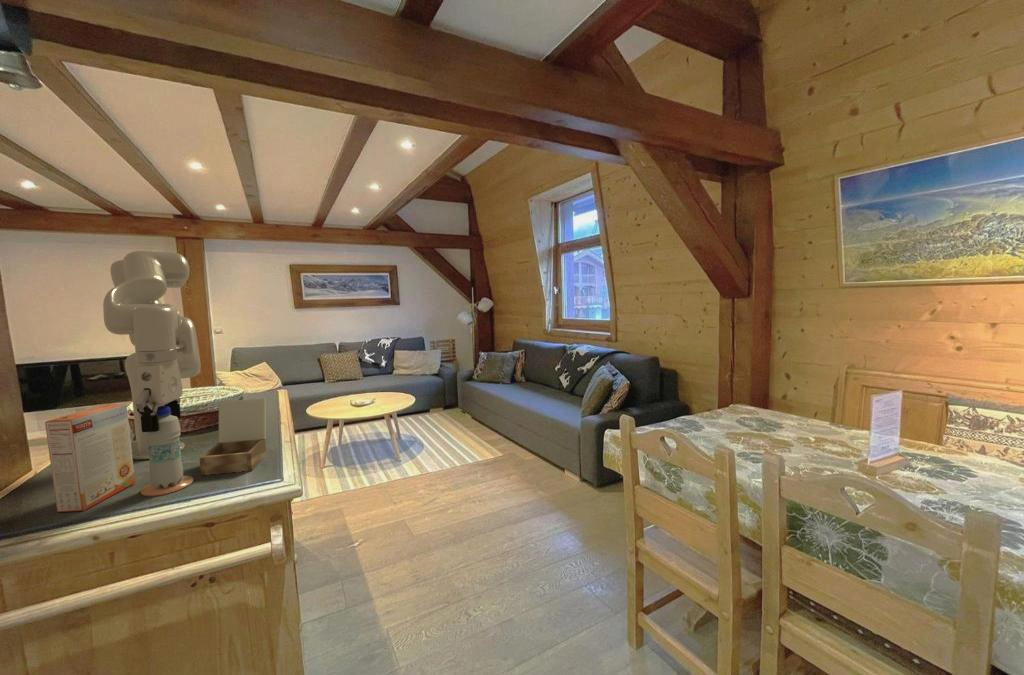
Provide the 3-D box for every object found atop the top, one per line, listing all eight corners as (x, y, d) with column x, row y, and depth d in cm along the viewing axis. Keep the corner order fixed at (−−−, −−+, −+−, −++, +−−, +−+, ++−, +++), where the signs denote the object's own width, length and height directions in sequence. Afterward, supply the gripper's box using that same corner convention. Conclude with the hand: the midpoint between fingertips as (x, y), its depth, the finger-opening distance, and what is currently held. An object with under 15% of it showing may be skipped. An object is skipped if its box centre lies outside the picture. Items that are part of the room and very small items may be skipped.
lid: (219, 459, 118) (215, 403, 117) (225, 455, 122) (221, 400, 120) (265, 455, 121) (262, 400, 120) (269, 450, 125) (266, 397, 124)
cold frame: (200, 476, 107) (199, 457, 107) (220, 459, 119) (219, 442, 118) (252, 470, 110) (250, 453, 110) (266, 454, 122) (265, 438, 121)
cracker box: (111, 484, 102) (103, 403, 100) (136, 483, 103) (129, 403, 101) (53, 513, 88) (43, 420, 87) (83, 512, 89) (73, 419, 87)
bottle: (191, 480, 103) (185, 403, 101) (164, 492, 97) (157, 410, 95) (170, 477, 105) (164, 402, 103) (142, 489, 98) (135, 409, 96)
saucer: (130, 498, 95) (130, 496, 95) (155, 480, 104) (155, 478, 104) (181, 493, 97) (180, 490, 97) (200, 476, 107) (200, 473, 107)
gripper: (154, 362, 91) (160, 435, 93) (192, 351, 107) (197, 413, 109) (113, 363, 89) (120, 438, 91) (158, 351, 106) (164, 415, 107)
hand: (162, 424), depth 100 cm, fingers open, 9 cm apart
